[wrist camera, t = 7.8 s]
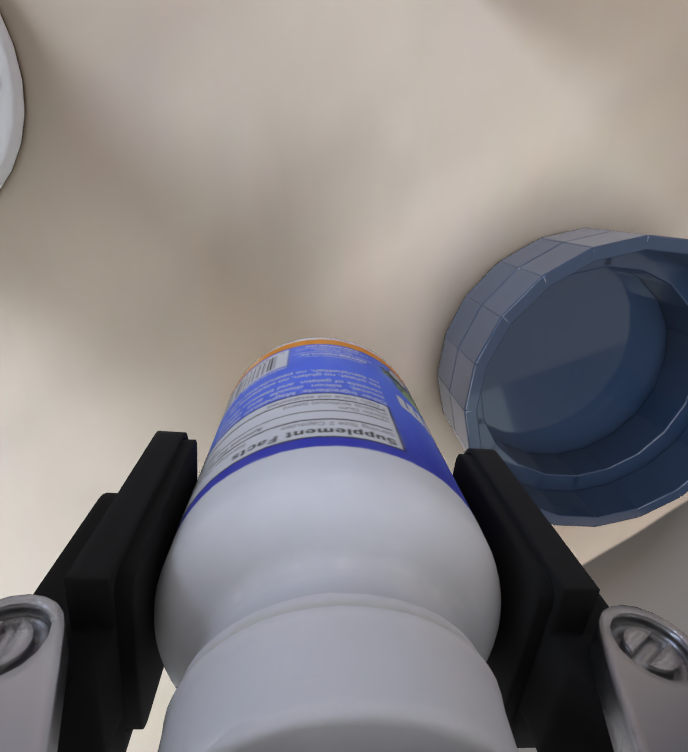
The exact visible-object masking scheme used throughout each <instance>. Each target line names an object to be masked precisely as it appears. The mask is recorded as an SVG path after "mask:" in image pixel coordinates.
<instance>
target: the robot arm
mask: <svg viewBox="0 0 688 752" xmlns="http://www.w3.org/2000/svg"><path fill="white" fill-rule="evenodd" d="M0 82H1V86H0V189H1V187H2V185H3V184H4V182H5V180H6V179H7V177H8V176H9V174H10V172H11V171H12V169H13V166H14V163H15V160H16V157H17V154H18V151H19V148H20V145H21V140H22V131H23V122H24V114H25V112H24V99H23V85H22V78H21V74H20V70H19V66H18V62H17V58H16V54H15V49H14V46H13V43H12V41H11V38H10V36H9V34H8V31H7V29H6V26H5V24H4V22H3V19H2V17H1V14H0ZM453 477H454V479H455V481H456V483H457V485H458V487H459V489H460V491H461V492H462V494H463V496H464V498H465V500H466V502H467V504H468V506H469V508H470V509H471V511H472V513H473V515H474V517H475V519H476V521H477V523H478V525H479V527H480V529H481V531H482V533H483V535H484V537H485V539H486V541H487V543H488V545H489V547H490V549H491V552H492V555H493V558H494V561H495V564H496V567H497V572H498V576H499V580H500V590H501V614H500V621H499V628H498V632H497V635H496V639H495V642H494V645H493V648H492V650H491V653H490V655H489V657H488V660H487V661H486V663H487V664H488V666H489V667H490V669H491V670H492V672H493V674H494V676H495V678H496V680H497V682H498V686H499V689H500V692H501V695H502V699H503V704H504V709H505V713H506V716H507V719H508V722H509V725H510V728H511V731H512V734H513V737H514V740H515V743H516V746H517V748H536V749H537V752H688V636H687V635H686V634H685V633H684V632H683V631H681V630H680V629H678V628H677V627H676V626H674V625H673V624H672V623H670V622H669V621H667V620H665V619H663V618H661V617H660V616H658V615H656V614H654V613H652V612H649V611H646V610H643V609H641V608H638V607H633V606H626V605H619V606H611V607H609V606H608V605H607V604H606V602H605V601H604V600H603V598H602V597H601V596H600V594H599V591H600V589H599V588H598V587H597V586H596V584H595V583H594V581H593V580H592V579H591V577H590V576H589V575H588V573H587V572H586V571H585V569H584V568H583V567H582V565H581V564H580V563H579V561H578V560H577V559H576V557H575V556H574V555H573V553H572V552H571V551H570V549H569V548H568V546H567V545H566V544H565V542H564V541H563V540H562V538H561V537H560V536H559V534H558V533H557V532H556V530H555V529H554V528H553V526H552V525H551V524H550V522H549V521H548V520H547V518H546V517H545V516H544V514H543V513H542V512H541V510H540V509H539V508H538V506H537V505H536V504H535V502H534V501H533V500H532V498H531V497H530V496H529V494H528V493H527V492H526V490H525V489H524V488H523V486H522V485H521V484H520V482H519V481H518V480H517V478H516V477H515V476H514V474H513V473H512V472H511V470H510V469H509V468H508V466H507V465H506V464H505V462H504V461H503V460H502V458H501V457H500V456H499V454H498V453H497V452H496V451H495V450H493V449H476V448H468V449H467V450H466V452H465V454H459V455H458V456H457V459H456V463H455V467H454V472H453ZM196 482H197V442H196V440H188V436H187V433H186V432H168V431H157V432H156V434H155V435H154V437H153V438H152V440H151V442H150V443H149V445H148V446H147V448H146V449H145V451H144V453H143V454H142V456H141V457H140V459H139V461H138V462H137V464H136V465H135V467H134V468H133V470H132V472H131V473H130V475H129V476H128V478H127V479H126V481H125V483H124V484H123V486H122V487H121V489H120V491H119V492H118V493H105V494H103V495H102V496H101V497H100V498H99V499H98V501H97V502H96V503H95V505H94V506H93V508H92V509H91V511H90V512H89V514H88V515H87V517H86V518H85V520H84V521H83V522H82V524H81V525H80V527H79V528H78V530H77V531H76V533H75V534H74V536H73V537H72V538H71V540H70V541H69V543H68V544H67V546H66V547H65V549H64V550H63V552H62V553H61V555H60V556H59V557H58V559H57V560H56V562H55V563H54V565H53V566H52V568H51V569H50V571H49V572H48V574H47V575H46V576H45V578H44V579H43V581H42V582H41V584H40V585H39V587H38V588H37V590H36V591H35V593H34V594H33V595H32V594H27V595H17V596H10V597H6V598H3V599H0V752H126V750H127V747H128V744H129V740H130V737H131V734H132V731H133V729H144V727H145V725H146V723H147V720H148V717H149V714H150V711H151V708H152V704H153V701H154V698H155V694H156V691H157V688H158V684H159V681H160V678H161V674H162V671H163V668H164V665H163V662H162V659H161V656H160V653H159V650H158V646H157V642H156V637H155V627H154V602H155V594H156V589H157V584H158V580H159V577H160V573H161V570H162V567H163V565H164V562H165V560H166V557H167V555H168V552H169V550H170V547H171V545H172V542H173V539H174V536H175V534H176V531H177V528H178V526H179V523H180V521H181V519H182V517H183V514H184V512H185V509H186V507H187V504H188V502H189V499H190V497H191V495H192V492H193V490H194V487H195V485H196Z"/></svg>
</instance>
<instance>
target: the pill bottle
mask: <svg viewBox="0 0 688 752" xmlns="http://www.w3.org/2000/svg"><path fill="white" fill-rule="evenodd" d="M500 614H501V590H500V580H499V576H498V572H497V567H496V564H495V561H494V558H493V555H492V552H491V549H490V547H489V545H488V543H487V541H486V539H485V537H484V535H483V533H482V531H481V529H480V527H479V525H478V523H477V521H476V519H475V517H474V515H473V513H472V511H471V509H470V508H469V506H468V504H467V502H466V500H465V498H464V496H463V494H462V492H461V491H460V489H459V487H458V485H457V483H456V481H455V479H454V477H453V475H452V474H451V472H450V470H449V468H448V466H447V464H446V462H445V460H444V458H443V456H442V455H441V453H440V451H439V449H438V447H437V445H436V443H435V441H434V439H433V437H432V435H431V433H430V431H429V429H428V427H427V426H426V424H425V422H424V420H423V418H422V416H421V414H420V412H419V410H418V408H417V407H416V404H415V402H414V401H413V399H412V397H411V395H410V393H409V391H408V389H407V388H406V386H405V384H404V383H403V381H402V380H401V379H400V377H399V376H398V374H397V373H396V372H395V371H394V370H393V368H392V367H391V366H390V365H389V364H388V363H387V362H386V361H385V360H383V359H382V358H381V357H379V356H378V355H377V354H375V353H374V352H372V351H370V350H368V349H366V348H364V347H363V346H360V345H358V344H355V343H352V342H348V341H344V340H340V339H334V338H319V337H317V338H305V339H300V340H295V341H292V342H289V343H286V344H283V345H280V346H278V347H276V348H274V349H272V350H270V351H269V352H267V353H265V354H264V355H263V356H261V357H260V358H259V359H258V360H256V361H255V362H254V363H253V364H252V365H251V366H250V367H249V368H248V369H247V370H246V372H245V373H244V374H243V376H242V377H241V378H240V380H239V381H238V383H237V385H236V387H235V389H234V391H233V393H232V395H231V397H230V400H229V402H228V405H227V407H226V410H225V413H224V415H223V418H222V420H221V423H220V426H219V428H218V431H217V433H216V436H215V438H214V441H213V443H212V446H211V448H210V451H209V453H208V456H207V458H206V460H205V463H204V465H203V468H202V470H201V473H200V475H199V477H198V480H197V482H196V485H195V487H194V490H193V492H192V495H191V497H190V499H189V502H188V504H187V507H186V509H185V512H184V514H183V517H182V519H181V521H180V523H179V526H178V528H177V531H176V534H175V536H174V539H173V542H172V545H171V547H170V550H169V552H168V555H167V557H166V560H165V562H164V565H163V567H162V570H161V573H160V577H159V580H158V584H157V589H156V594H155V602H154V627H155V637H156V642H157V646H158V650H159V653H160V656H161V659H162V662H163V665H164V668H165V670H166V671H167V673H168V675H169V677H170V679H171V681H172V682H173V684H174V685H175V687H176V688H177V689H176V691H175V693H174V694H173V697H172V699H171V701H170V703H169V705H168V707H167V711H166V715H165V719H164V723H163V730H162V736H161V741H160V745H159V749H158V752H518V750H517V746H516V743H515V740H514V737H513V734H512V731H511V728H510V725H509V722H508V719H507V716H506V713H505V709H504V704H503V699H502V695H501V692H500V689H499V686H498V682H497V680H496V678H495V676H494V674H493V672H492V670H491V669H490V667H489V666H488V664H487V663H486V661H487V660H488V657H489V655H490V653H491V650H492V648H493V645H494V642H495V639H496V635H497V632H498V628H499V621H500Z"/></svg>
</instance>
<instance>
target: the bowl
mask: <svg viewBox="0 0 688 752" xmlns="http://www.w3.org/2000/svg"><path fill="white" fill-rule="evenodd" d="M445 335H446V336H445V339H444V345H443V350H442V355H441V361H440V366H439V371H438V382H439V388H440V395H441V402H442V409H443V412H444V415H445V417H446V418H447V420H448V422H449V424H450V426H451V427H452V429H453V431H454V433H455V435H456V437H457V438H458V440H459V442H460V443H461V445H462V447H463V448H464V450H465V451H466V450H467V449H468V448H476V449H493V450H495V451H496V452H497V453H498V454H499V456H500V457H501V458H502V460H503V461H504V462H505V464H506V465H507V466H508V468H509V469H510V470H511V472H512V473H513V474H514V476H515V477H516V478H517V480H518V481H519V482H520V484H521V485H522V486H523V488H524V489H525V490H526V492H527V493H528V494H529V496H530V497H531V498H532V500H533V501H534V502H535V504H536V505H537V506H538V508H539V509H540V510H541V512H542V513H543V514H544V516H545V517H546V518H547V520H548V521H549V522H550V524H553V525H563V526H588V527H596V526H602V525H606V524H611V523H615V522H619V521H624V520H628V519H633V518H637V517H641V516H643V515H645V514H647V513H649V512H651V511H653V510H655V509H657V508H659V507H661V506H663V505H665V504H667V503H670V502H672V501H674V500H676V499H678V498H680V496H683V495H684V494H685V493H686V492H688V239H682V238H674V237H665V236H656V235H647V234H638V233H629V232H619V231H610V230H601V229H592V228H582V229H578V230H573V231H569V232H564V233H560V234H556V235H551V236H547V237H542V238H541V239H538V240H536V241H534V242H533V243H531V244H529V245H527V246H526V247H524V248H522V249H520V250H519V251H517V252H515V253H514V254H512V255H510V256H508V257H507V258H505V259H503V260H501V261H500V262H498V263H497V264H496V265H495V266H494V267H493V268H492V269H491V270H490V271H489V272H488V273H487V274H486V275H485V277H484V278H483V279H482V280H481V281H480V282H479V283H478V284H477V285H476V286H475V287H474V288H473V289H472V290H471V291H470V292H469V293H468V294H467V296H465V298H464V300H463V302H462V304H461V306H460V308H459V310H458V312H457V313H456V315H455V317H454V319H453V321H452V323H451V325H450V327H449V329H448V330H447V332H446V334H445Z"/></svg>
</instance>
